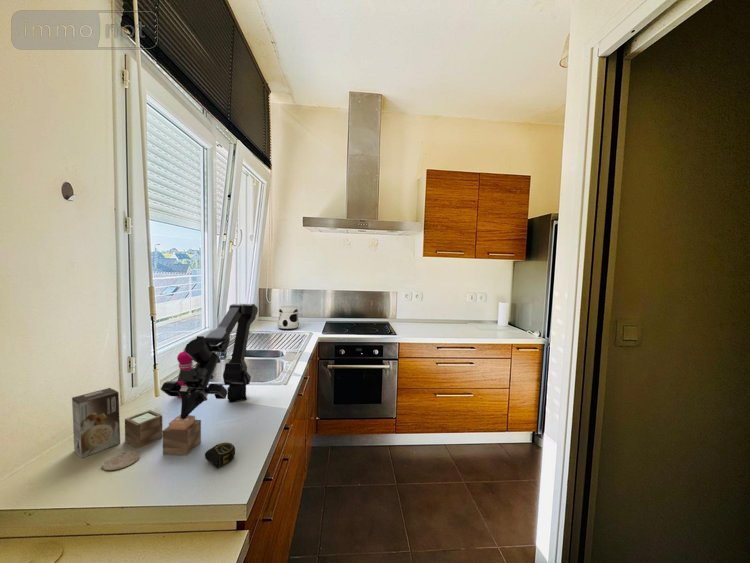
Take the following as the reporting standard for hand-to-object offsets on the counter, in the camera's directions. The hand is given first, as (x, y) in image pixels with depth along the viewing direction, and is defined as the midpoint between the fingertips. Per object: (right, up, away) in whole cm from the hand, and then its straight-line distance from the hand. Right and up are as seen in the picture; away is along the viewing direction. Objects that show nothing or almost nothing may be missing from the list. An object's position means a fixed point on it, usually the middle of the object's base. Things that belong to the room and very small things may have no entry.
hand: (182, 418), depth 93 cm
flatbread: (-13, -10, -7) cm, 17 cm away
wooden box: (0, -9, +1) cm, 9 cm away
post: (-15, -8, +4) cm, 17 cm away
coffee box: (-25, -9, -1) cm, 26 cm away
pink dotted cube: (0, -5, 0) cm, 5 cm away
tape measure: (+14, -10, -5) cm, 18 cm away
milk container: (-15, +1, +166) cm, 167 cm away
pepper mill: (-21, -6, +36) cm, 42 cm away
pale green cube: (-15, -6, +4) cm, 16 cm away
